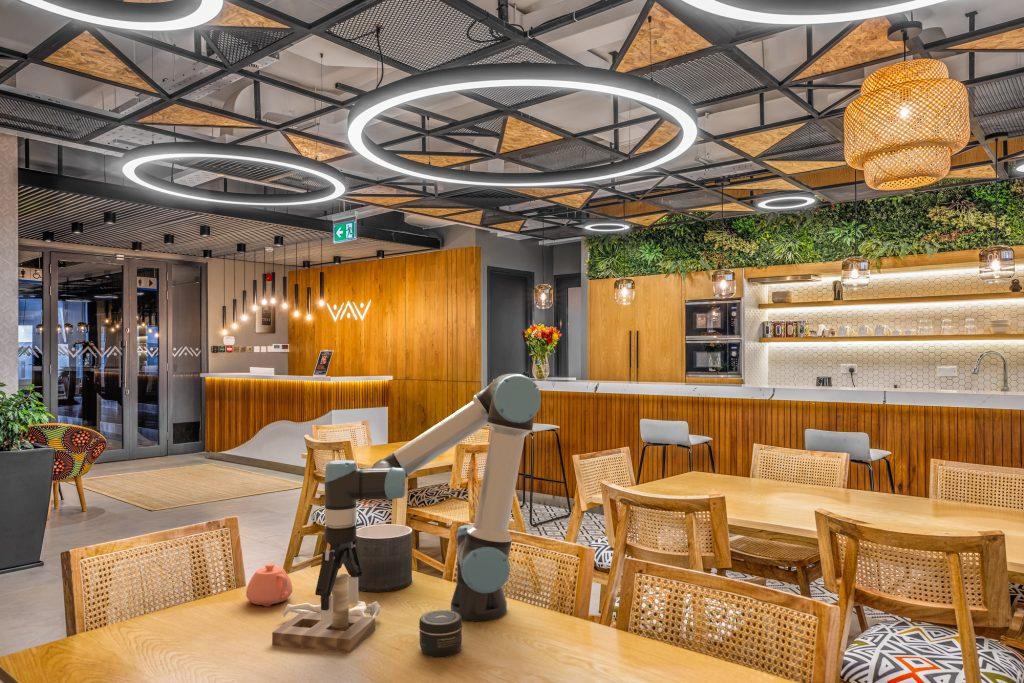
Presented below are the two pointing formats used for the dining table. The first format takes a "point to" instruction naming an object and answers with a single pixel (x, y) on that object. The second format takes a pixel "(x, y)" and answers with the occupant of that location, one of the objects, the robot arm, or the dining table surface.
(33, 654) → the dining table surface
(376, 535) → the planter
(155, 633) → the dining table surface
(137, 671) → the dining table surface
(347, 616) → the leg
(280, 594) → the sugar bowl
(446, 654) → the jar
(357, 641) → the board
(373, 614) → the figurine
